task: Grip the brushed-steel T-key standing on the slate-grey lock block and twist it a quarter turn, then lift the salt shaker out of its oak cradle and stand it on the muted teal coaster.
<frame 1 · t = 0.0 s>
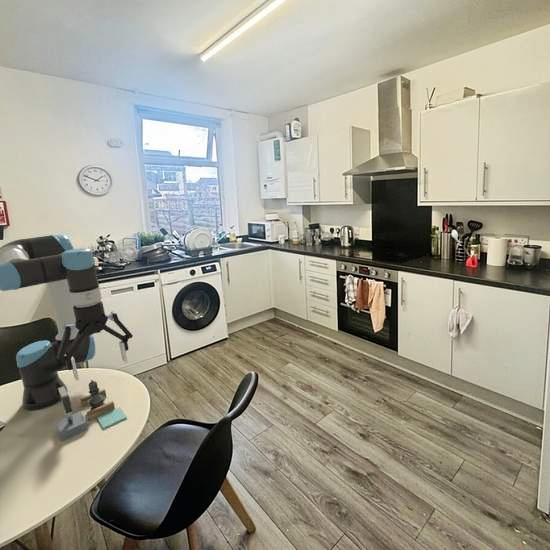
hand: (101, 369, 102), 28 cm above the table, fingers open, 13 cm apart
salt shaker: (98, 407, 130), on the table
coaster: (111, 418, 123), on the table
cradle: (97, 407, 130), on the table
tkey: (66, 406, 116), point 9 cm above the table, hinge at 0.0°
lock block: (72, 429, 119), on the table
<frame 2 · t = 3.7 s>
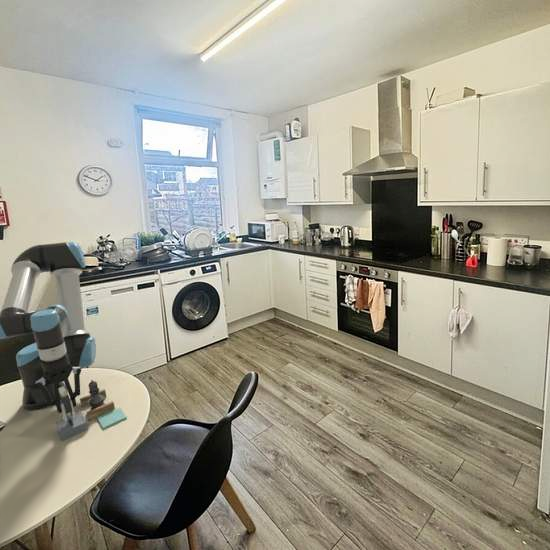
hand: (69, 417, 118), 5 cm above the table, fingers closed on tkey, 2 cm apart
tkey: (66, 406, 116), point 9 cm above the table, hinge at 0.0°, touching gripper
everything else where it was.
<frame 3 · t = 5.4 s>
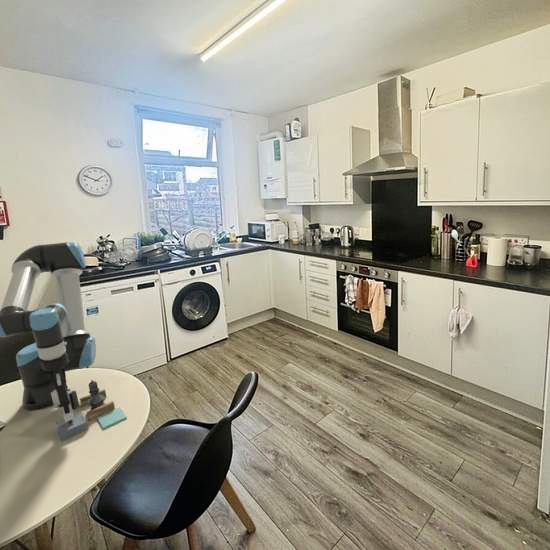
hand: (69, 415, 117), 6 cm above the table, fingers closed on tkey, 5 cm apart
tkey: (66, 406, 116), point 9 cm above the table, hinge at 40.0°, touching gripper
everything else where it was.
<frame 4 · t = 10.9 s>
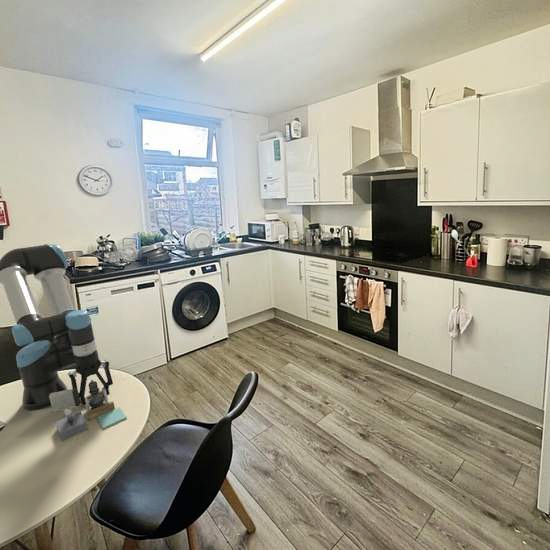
hand: (97, 406, 130), 0 cm above the table, fingers closed on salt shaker, 6 cm apart
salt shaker: (98, 407, 130), on the table, touching gripper
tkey: (66, 406, 116), point 9 cm above the table, hinge at 66.3°
when the fingers open (2 cm above the table, at t = 16.9 s): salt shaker drops 1 cm, resting on coaster.
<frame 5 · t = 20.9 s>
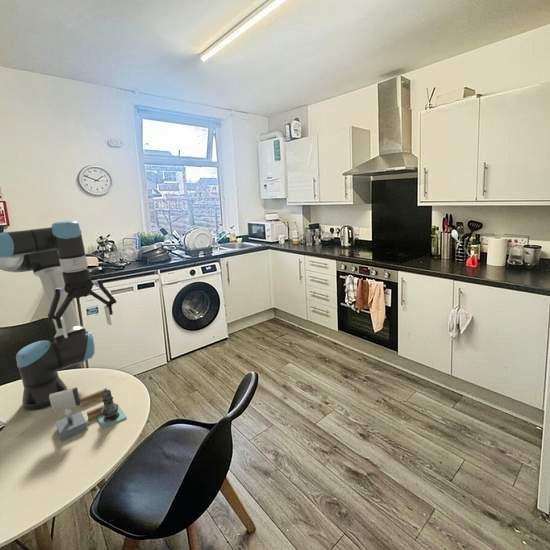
hand: (88, 330, 115), 35 cm above the table, fingers open, 13 cm apart
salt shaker: (111, 417, 123), resting on coaster
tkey: (66, 406, 116), point 9 cm above the table, hinge at 72.7°
at the end: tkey at +73° (first picture: +0°); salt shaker inside the target area on the coaster (0.0 cm from its centre), point 0.4 cm above the coaster's base; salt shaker tilted 0° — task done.
